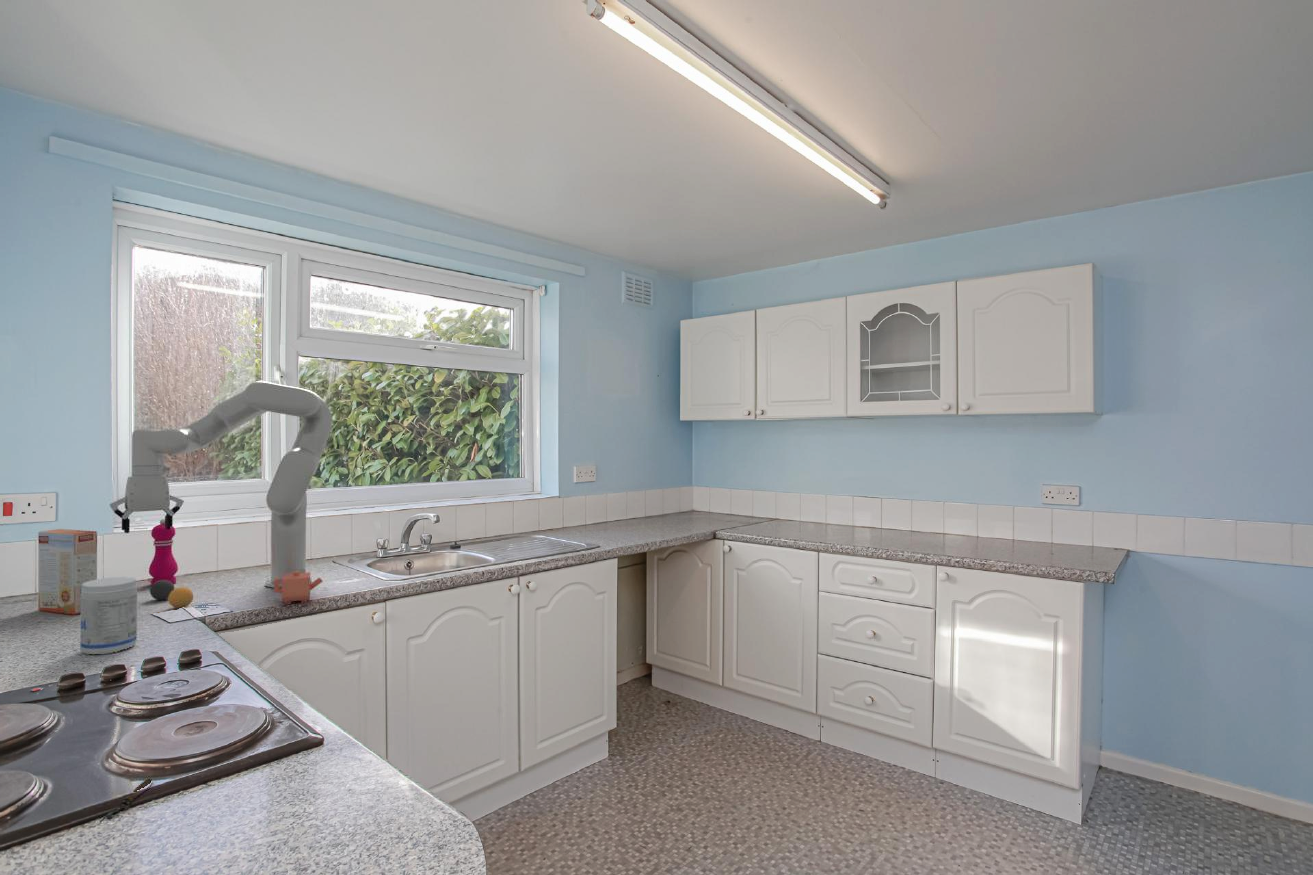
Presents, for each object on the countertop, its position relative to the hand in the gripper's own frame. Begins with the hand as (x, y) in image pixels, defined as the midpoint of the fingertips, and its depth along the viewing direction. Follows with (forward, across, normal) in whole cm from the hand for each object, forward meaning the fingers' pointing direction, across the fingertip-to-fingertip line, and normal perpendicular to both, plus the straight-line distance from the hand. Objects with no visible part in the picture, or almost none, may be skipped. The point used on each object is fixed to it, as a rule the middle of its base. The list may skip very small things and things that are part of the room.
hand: (147, 530), depth 198 cm
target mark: (+18, -3, +34) cm, 39 cm away
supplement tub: (+18, +17, +56) cm, 61 cm away
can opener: (+18, +27, +134) cm, 138 cm away
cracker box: (+18, +18, +8) cm, 27 cm away
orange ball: (+15, -2, +26) cm, 30 cm away
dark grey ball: (+15, -1, +12) cm, 20 cm away
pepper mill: (+18, -6, -11) cm, 22 cm away
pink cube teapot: (+18, -27, +40) cm, 52 cm away
